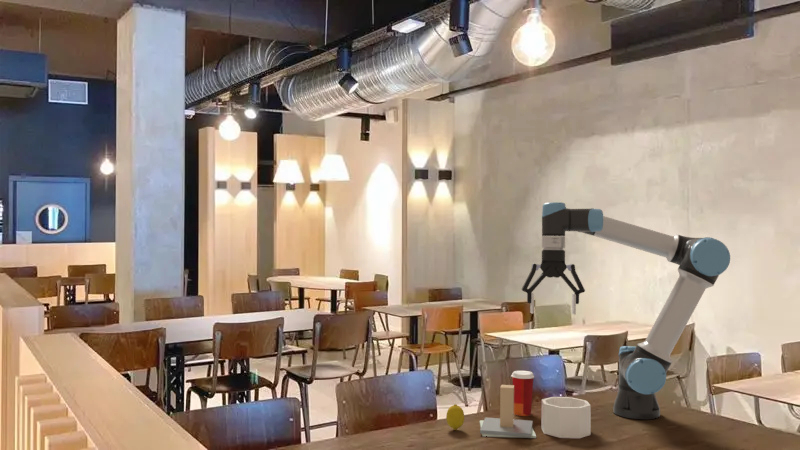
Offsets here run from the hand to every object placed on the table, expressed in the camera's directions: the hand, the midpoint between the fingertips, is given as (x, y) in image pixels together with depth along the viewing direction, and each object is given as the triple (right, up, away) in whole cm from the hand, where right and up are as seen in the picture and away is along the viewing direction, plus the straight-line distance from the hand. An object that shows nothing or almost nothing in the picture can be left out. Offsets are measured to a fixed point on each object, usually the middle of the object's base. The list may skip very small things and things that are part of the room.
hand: (552, 313), depth 229 cm
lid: (-17, -34, -14) cm, 40 cm away
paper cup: (-9, -35, +6) cm, 37 cm away
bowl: (+1, -35, -15) cm, 37 cm away
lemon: (-33, -34, -14) cm, 50 cm away
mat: (-17, -34, -13) cm, 41 cm away
